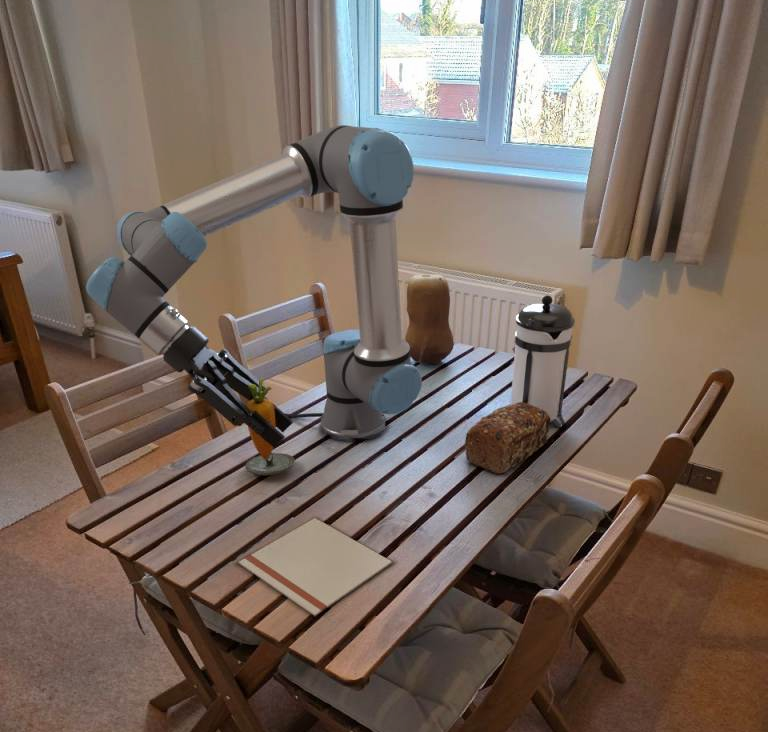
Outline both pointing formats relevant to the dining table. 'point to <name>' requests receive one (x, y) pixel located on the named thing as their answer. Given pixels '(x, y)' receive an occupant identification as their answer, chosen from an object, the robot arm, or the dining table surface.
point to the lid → (270, 464)
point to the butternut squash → (428, 319)
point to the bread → (507, 436)
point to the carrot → (266, 412)
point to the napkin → (315, 565)
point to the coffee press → (542, 356)
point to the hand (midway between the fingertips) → (283, 434)
